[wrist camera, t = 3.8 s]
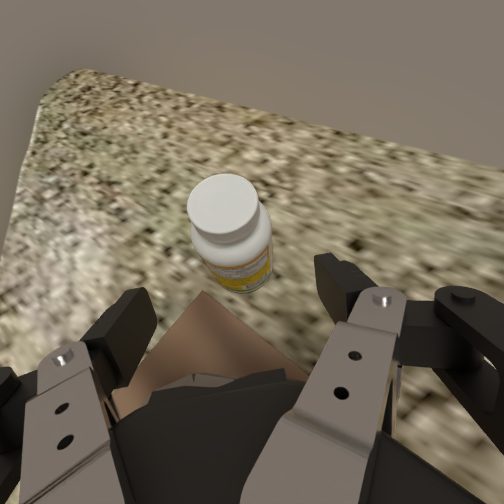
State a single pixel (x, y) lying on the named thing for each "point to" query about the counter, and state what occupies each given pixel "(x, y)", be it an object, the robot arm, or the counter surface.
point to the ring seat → (202, 355)
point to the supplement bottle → (231, 232)
